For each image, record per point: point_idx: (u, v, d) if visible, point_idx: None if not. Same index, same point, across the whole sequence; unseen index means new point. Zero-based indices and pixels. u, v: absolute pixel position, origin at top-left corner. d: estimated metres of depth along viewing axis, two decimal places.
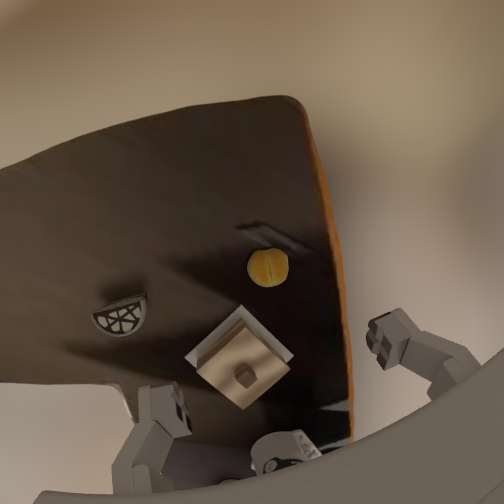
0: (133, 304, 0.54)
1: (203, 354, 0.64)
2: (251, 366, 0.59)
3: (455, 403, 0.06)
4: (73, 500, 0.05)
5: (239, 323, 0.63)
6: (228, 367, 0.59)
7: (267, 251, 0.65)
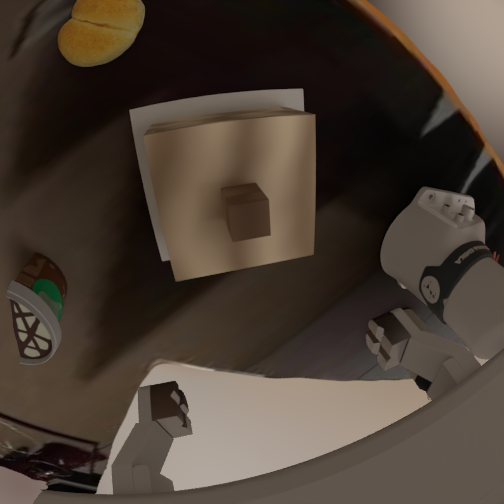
0: (12, 304, 0.24)
1: None
2: (240, 180, 0.25)
3: (455, 403, 0.06)
4: (73, 500, 0.05)
5: None
6: (208, 224, 0.26)
7: (72, 15, 0.18)
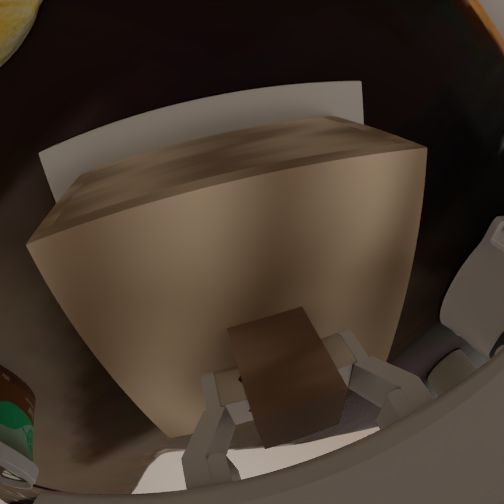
0: None
1: None
2: (269, 309, 0.11)
3: (455, 403, 0.06)
4: (73, 500, 0.05)
5: None
6: None
7: None
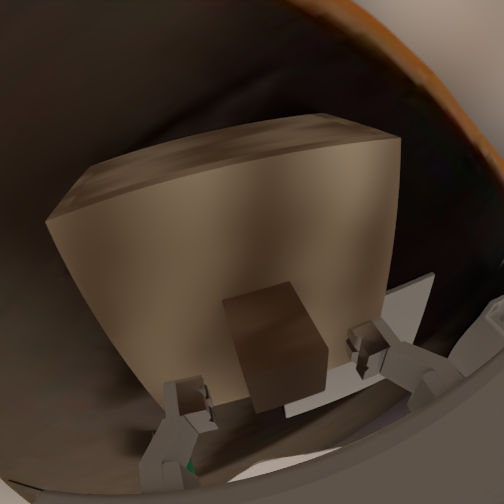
0: None
1: None
2: (260, 282, 0.13)
3: (455, 403, 0.06)
4: (73, 500, 0.05)
5: None
6: (207, 353, 0.14)
7: None
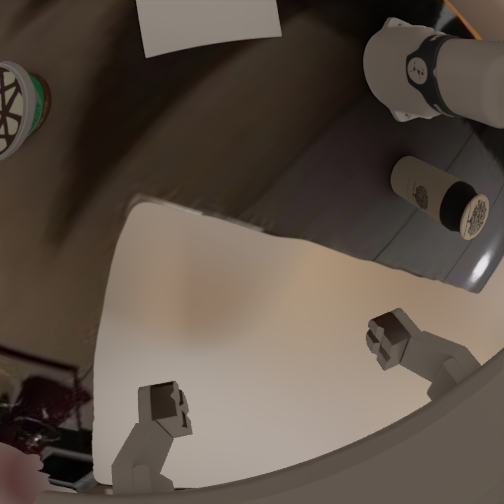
0: None
1: None
2: None
3: (455, 403, 0.06)
4: (73, 500, 0.05)
5: None
6: None
7: None
